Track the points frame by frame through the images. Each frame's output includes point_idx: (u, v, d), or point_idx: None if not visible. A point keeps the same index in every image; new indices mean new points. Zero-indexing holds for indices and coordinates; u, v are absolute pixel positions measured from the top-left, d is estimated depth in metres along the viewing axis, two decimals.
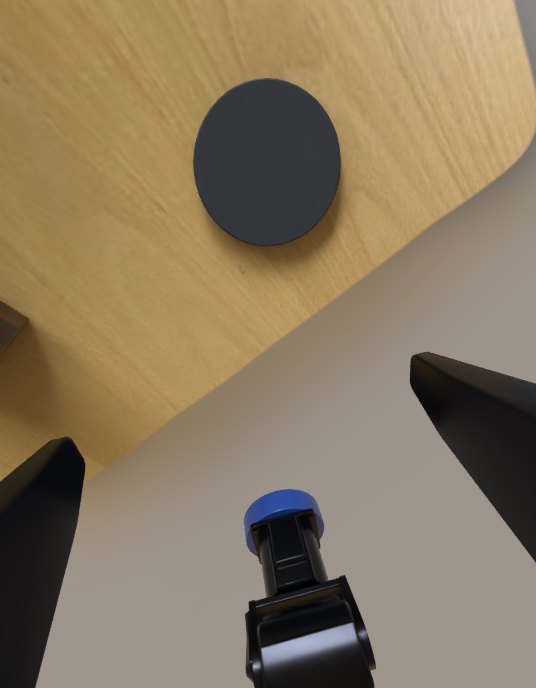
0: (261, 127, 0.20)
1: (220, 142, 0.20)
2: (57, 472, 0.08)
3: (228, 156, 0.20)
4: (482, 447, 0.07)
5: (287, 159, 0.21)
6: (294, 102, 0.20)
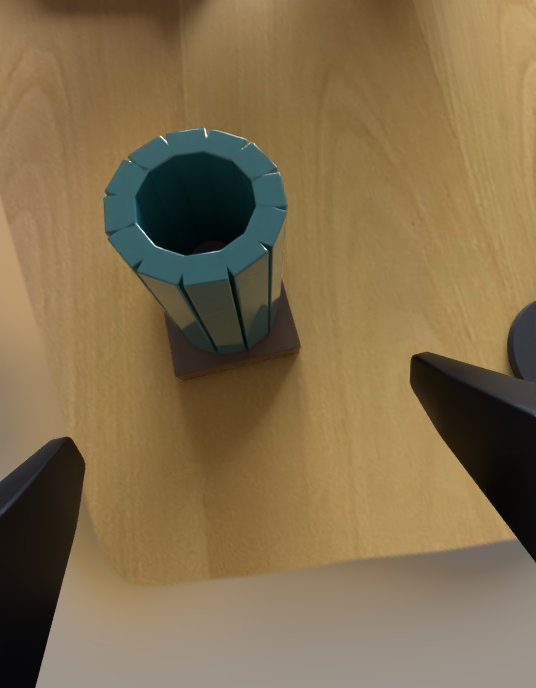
0: None
1: None
2: (57, 472, 0.08)
3: None
4: (482, 447, 0.07)
5: None
6: None
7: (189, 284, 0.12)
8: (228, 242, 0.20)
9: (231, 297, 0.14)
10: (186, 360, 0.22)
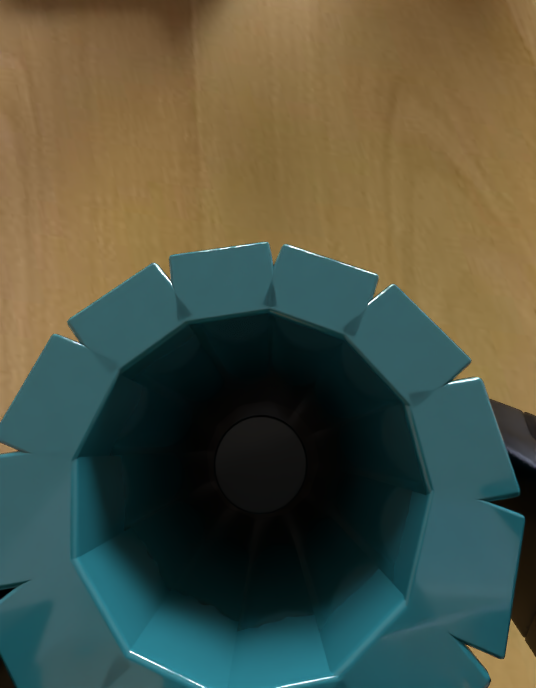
0: None
1: None
2: None
3: None
4: None
5: None
6: None
7: None
8: (277, 389, 0.11)
9: None
10: None
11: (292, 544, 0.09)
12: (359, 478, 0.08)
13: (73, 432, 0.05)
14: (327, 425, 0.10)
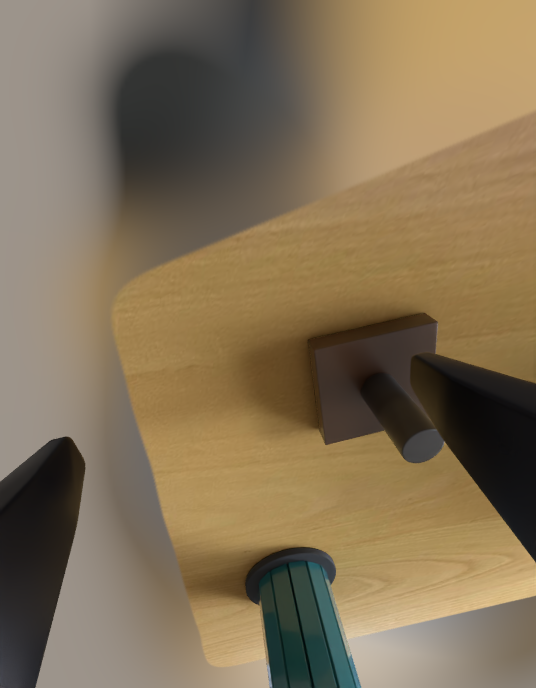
0: None
1: None
2: (57, 472, 0.08)
3: None
4: (482, 447, 0.07)
5: None
6: None
7: None
8: None
9: None
10: (328, 359, 0.21)
11: None
12: None
13: None
14: None
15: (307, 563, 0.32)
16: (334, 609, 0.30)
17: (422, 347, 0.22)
